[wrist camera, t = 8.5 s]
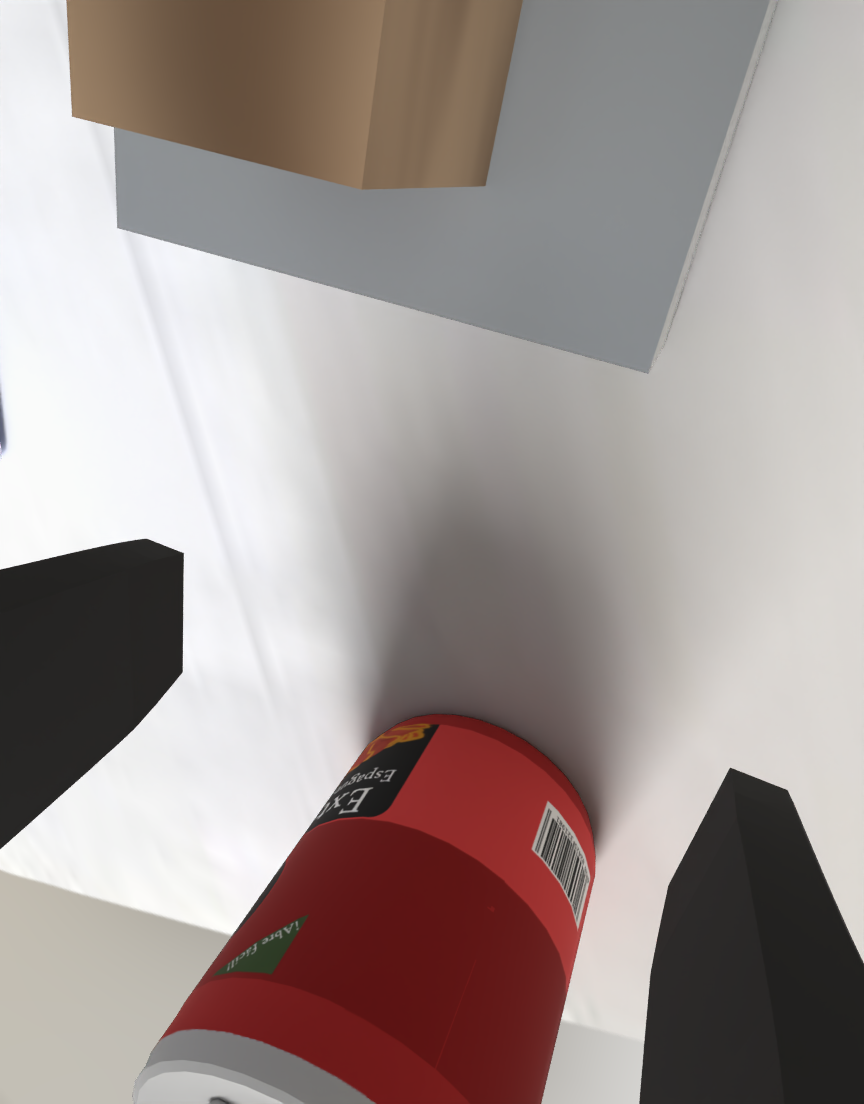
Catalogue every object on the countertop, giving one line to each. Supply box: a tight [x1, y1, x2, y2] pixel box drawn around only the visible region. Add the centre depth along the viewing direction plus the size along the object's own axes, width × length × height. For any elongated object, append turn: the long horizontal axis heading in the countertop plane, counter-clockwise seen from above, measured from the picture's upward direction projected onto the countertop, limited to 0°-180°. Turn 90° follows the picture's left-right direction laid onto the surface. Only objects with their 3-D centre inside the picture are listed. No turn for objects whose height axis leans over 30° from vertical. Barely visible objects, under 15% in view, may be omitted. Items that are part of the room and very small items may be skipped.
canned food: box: [132, 714, 595, 1104], centre depth 19 cm, size 8×8×11 cm
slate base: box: [114, 0, 778, 373], centre depth 14 cm, size 12×10×2 cm
